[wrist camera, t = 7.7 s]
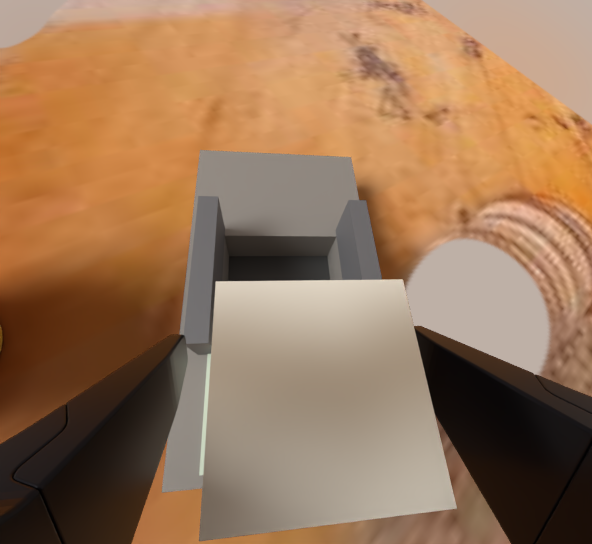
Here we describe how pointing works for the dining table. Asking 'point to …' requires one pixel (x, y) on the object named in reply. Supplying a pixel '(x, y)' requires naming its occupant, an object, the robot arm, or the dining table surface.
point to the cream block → (317, 409)
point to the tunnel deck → (259, 259)
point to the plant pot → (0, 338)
